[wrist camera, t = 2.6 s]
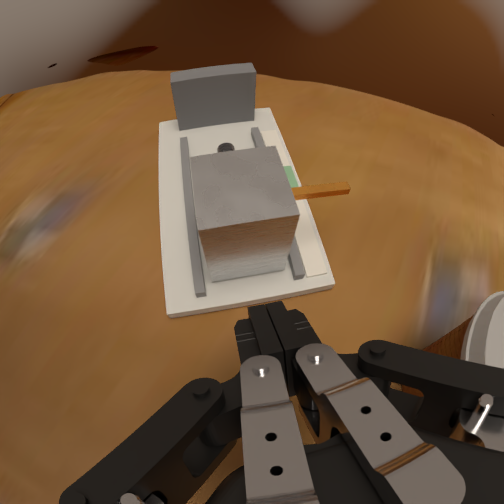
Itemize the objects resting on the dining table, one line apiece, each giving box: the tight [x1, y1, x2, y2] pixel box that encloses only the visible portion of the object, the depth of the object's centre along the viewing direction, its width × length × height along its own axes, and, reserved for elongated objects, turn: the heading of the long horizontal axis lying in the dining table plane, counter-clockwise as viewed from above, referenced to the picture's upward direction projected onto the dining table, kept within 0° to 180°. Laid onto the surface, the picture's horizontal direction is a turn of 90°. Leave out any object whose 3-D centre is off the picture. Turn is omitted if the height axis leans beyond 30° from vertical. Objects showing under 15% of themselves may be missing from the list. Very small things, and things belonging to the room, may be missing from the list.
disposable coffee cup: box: [402, 291, 504, 397], centre depth 16 cm, size 10×10×12 cm
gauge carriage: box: [190, 143, 350, 282], centre depth 23 cm, size 11×11×8 cm
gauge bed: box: [159, 63, 335, 318], centre depth 26 cm, size 14×24×8 cm, turn 11°
